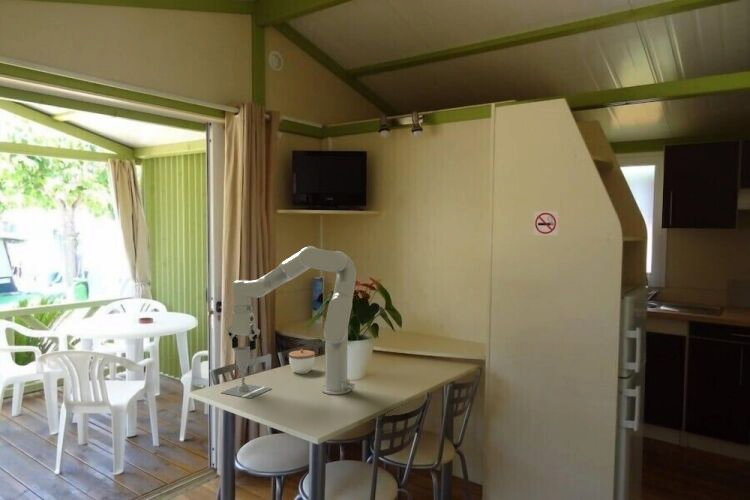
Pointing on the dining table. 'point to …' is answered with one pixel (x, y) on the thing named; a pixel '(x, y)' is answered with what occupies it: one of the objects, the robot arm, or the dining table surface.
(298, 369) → the lidded bowl
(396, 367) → the dining table surface
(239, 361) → the chalice
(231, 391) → the mat
